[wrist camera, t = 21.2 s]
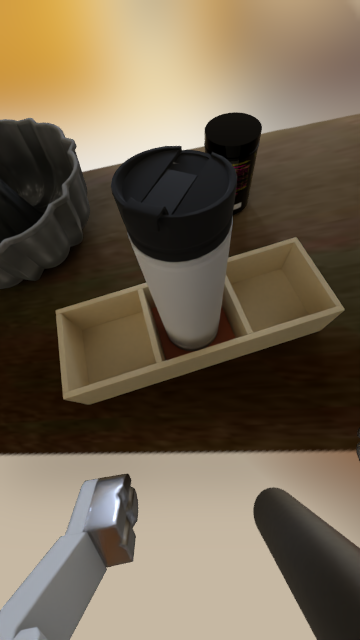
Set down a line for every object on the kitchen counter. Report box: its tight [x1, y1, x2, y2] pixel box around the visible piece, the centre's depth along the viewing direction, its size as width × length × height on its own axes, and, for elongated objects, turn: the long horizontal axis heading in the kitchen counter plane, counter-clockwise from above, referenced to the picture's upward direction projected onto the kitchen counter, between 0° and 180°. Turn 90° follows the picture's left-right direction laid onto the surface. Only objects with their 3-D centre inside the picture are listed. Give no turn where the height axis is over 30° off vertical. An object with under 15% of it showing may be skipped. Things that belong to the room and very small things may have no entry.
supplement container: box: [204, 113, 262, 215], centre depth 34 cm, size 7×7×10 cm
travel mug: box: [111, 146, 237, 351], centre depth 20 cm, size 6×7×20 cm
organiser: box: [56, 237, 345, 405], centre depth 28 cm, size 10×28×6 cm, turn 107°
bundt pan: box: [0, 118, 90, 289], centre depth 35 cm, size 26×26×10 cm
